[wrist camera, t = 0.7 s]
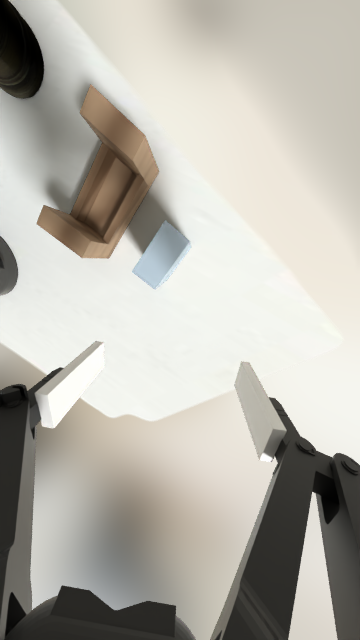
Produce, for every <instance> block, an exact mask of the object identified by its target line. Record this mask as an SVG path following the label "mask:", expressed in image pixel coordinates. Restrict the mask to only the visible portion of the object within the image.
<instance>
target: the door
mask: <svg viewBox="0 0 360 640" xmlns="http://www.w3.org/2000/svg"><path fill="white" fill-rule="evenodd" d="M190 248H191V244H190V241H189V240H188V239H187V238H186V237H185V236H183V235H182V234H181V233H180V232H179V231H178V230H176V229H175V228H174V227H173V226H172V225H171V224H170V223H168V222H167V221H166V220H165V221H164V223H163V224H162V226H161V227H160V229H159V230H158V232H157V234H156V235H155V237H154V238H153V240H152V241H151V243H150V244H149V246H148V247H147V249H146V251H145V252H144V254H143V255H142V257H141V258H140V260H139V261H138V263H137V264H136V266H135V268H134V269H133V271H132V272H133V273H134V274H135V275H137V276H138V277H139V278H141V279H142V280H143V281H144V282H146V283H147V284H148V285H150V286H151V287H152V288H153V289H156V288H158V287H159V286H160V285H161V284H163V283H164V282H165V281H167V280H168V278H169V277H170V275H171V274H172V273H173V271H174V270H175V269H176V267H177V266H178V265H179V263H180V262H181V261H182V259H183V258H184V257H185V255H186V254H187V252H188V251H189V250H190Z"/></svg>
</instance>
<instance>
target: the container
mask: <svg viewBox="0 0 360 640" xmlns="http://www.w3.org/2000/svg"><path fill="white" fill-rule="evenodd" d="M43 74H44V63H43V57H42V53H41V49H40V46H39V44H38V41H37V39H36V37H35V35H34V33H33V31H32V30H31V28H30V27H29V25H28V24H27V23H26V21H25V20H24V19H23V18H22V17H21V16H20V14H19V12H18V11H17V10H16V8H15V7H14V6H13V5H12V4H11V3H10V2H9V1H8V0H0V88H2V89H3V90H4V91H5V92H7V93H9V94H10V95H12V96H14V97H17V98H21V99H26V98H29V97H32V96H33V95H35V94H36V92H37V91H38V90H39V88H40V86H41V84H42V80H43Z"/></svg>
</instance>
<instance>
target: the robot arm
mask: <svg viewBox="0 0 360 640" xmlns="http://www.w3.org/2000/svg"><path fill="white" fill-rule="evenodd" d="M17 277H18V270H17V264H16V261H15V258H14V256H13V254H12V252H11V250H10V248H9V247H8V245H7V244H6V243H5V242H4V240H3V239H2V238H1V237H0V296H1V295H5V294H7V293H9V292H10V291H11V290H12V289H13V288H14V286H15V285H16V282H17ZM104 367H105V360H104V342H98V341H95V342H94V343H93V344H92V345H91V346H90V347H88V348H87V349H86V350H85V351H84V352H82V353H81V354H80V355H79V356H78V357H77V358H75V359H74V360H73V361H72V362H71V363H70V364H68V365H67V366H66V367H65V368H58V369H56V370H54V371H52V372H51V373H50V374H48V375H47V377H45V378H43V379H42V381H40V382H39V383H37V384H36V385H35V386H34V387H32V388H31V389H30V390H29V391H27V389H26V386H25V385H22V384H16V385H11V386H8V387H6V388H4V389H2V390H0V640H196V639H195V637H194V636H193V634H192V633H191V631H190V630H189V628H188V627H187V626H186V625H185V624H184V623H183V621H182V620H180V619H179V618H178V617H177V616H176V615H175V614H176V606H174V605H168V604H162V603H157V602H151V601H146V602H142V603H139V604H136V605H133V606H130V607H127V608H124V609H121V610H113V609H112V608H110V607H109V606H108V605H107V604H105V603H104V602H103V601H102V600H101V599H99V598H98V597H97V596H96V595H94V594H93V593H92V592H91V591H89V590H84V589H79V588H72V587H67V586H61V589H60V591H59V594H58V596H56V597H53V598H51V599H49V600H47V601H45V602H43V603H42V604H40V605H39V606H37V607H36V608H34V609H33V610H32V591H31V581H30V564H31V542H32V520H33V498H34V476H35V453H36V431H37V430H36V425H37V423H38V422H40V420H41V422H42V426H43V427H48V428H55V427H56V425H57V424H58V423H59V422H60V421H61V419H62V418H63V417H64V416H65V414H66V413H67V412H68V411H69V410H70V408H71V407H72V406H73V405H74V403H75V402H76V401H77V400H78V398H79V397H80V396H81V395H82V394H83V392H84V391H85V390H86V389H87V388H88V386H89V385H90V384H91V383H92V381H93V380H94V379H95V378H96V377H97V375H98V374H99V373H100V372H101V370H102V369H103V368H104ZM235 388H236V391H237V394H238V397H239V400H240V403H241V406H242V409H243V412H244V415H245V418H246V421H247V424H248V427H249V430H250V433H251V436H252V439H253V442H254V445H255V448H256V451H257V454H258V457H259V460H262V461H268V462H272V461H273V459H274V456H275V457H276V459H277V462H278V464H277V466H276V468H275V470H274V472H273V477H272V479H271V482H270V485H269V487H268V490H267V493H266V495H265V498H264V501H263V504H262V506H261V509H260V511H259V514H258V517H257V520H256V522H255V525H254V528H253V531H252V533H251V536H250V538H249V541H248V544H247V546H246V549H245V552H244V554H243V557H242V560H241V562H240V565H239V568H238V570H237V573H236V576H235V578H234V581H233V584H232V586H231V589H230V592H229V594H228V597H227V600H226V602H225V605H224V608H223V610H222V612H221V615H220V617H219V619H218V622H217V624H216V626H215V629H214V632H213V634H212V637H211V639H210V640H288V637H289V631H290V625H291V618H292V611H293V605H294V600H295V594H296V587H297V581H298V575H299V569H300V563H301V557H302V551H303V545H304V538H305V532H306V526H307V520H308V514H309V508H310V501H311V495H312V492H314V493H316V497H317V504H318V511H319V518H320V524H321V531H322V538H323V545H324V551H325V558H326V565H327V571H328V577H329V585H330V591H331V598H332V604H333V611H334V618H335V625H336V631H337V638H338V640H360V465H359V464H358V463H357V462H355V461H354V460H353V459H351V458H350V457H348V456H346V455H344V454H341V453H336V454H335V455H334V456H333V458H332V457H330V456H327V455H325V454H323V453H320V452H318V451H316V449H315V448H314V446H313V445H312V444H311V443H310V442H309V441H307V440H306V439H304V438H302V437H300V435H299V433H298V432H297V430H296V428H295V427H294V425H293V423H292V422H291V420H290V419H289V417H288V415H287V414H286V412H285V411H284V409H283V407H282V405H281V404H280V403H279V402H278V401H277V400H276V399H275V398H270V397H268V396H267V394H266V392H265V390H264V388H263V387H262V385H261V384H260V381H259V379H258V377H257V376H256V374H255V372H254V370H253V368H252V367H251V365H250V363H248V362H241V364H240V368H239V371H238V374H237V378H236V381H235Z"/></svg>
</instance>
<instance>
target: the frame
mask: <svg viewBox="0 0 360 640" xmlns="http://www.w3.org/2000/svg"><path fill="white" fill-rule="evenodd" d="M80 114H81V115H82V117H83V118H84V119H85V120H86V122H87V123H88V124H89V126H90V127H91V128H92V129H93V131H94V132H95V133H96V135H97V136H98V137H99V139H100V140H101V141H102V144H101V147H100V149H99V151H98V153H97V155H96V158H95V160H94V162H93V164H92V167H91V169H90V171H89V173H88V175H87V178H86V180H85V182H84V184H83V187H82V189H81V191H80V193H79V196H78V198H77V200H76V202H75V204H74V207H73V209H72V211H71V213H70V214H67V213H64V212H62V211H59V210H56V209H54V208H51V207H48V206H45V205H43V208H42V211H41V213H40V216H39V218H38V221H37V225H39V226H40V227H41V228H43V229H44V230H45V231H47V232H48V233H49V234H51V235H52V236H53V237H55V238H56V239H57V240H59V241H60V242H61V243H63V244H64V245H65V246H67V247H68V248H69V249H71V250H72V251H73V252H75V253H76V254H77V255H79V256H80V257H81V258H110V256H111V254H112V252H113V251H114V249H115V247H116V245H117V244H118V242H119V240H120V238H121V237H122V235H123V233H124V232H125V230H126V228H127V226H128V225H129V223H130V221H131V219H132V218H133V216H134V214H135V212H136V211H137V209H138V207H139V206H140V204H141V202H142V200H143V199H144V197H145V195H146V193H147V192H148V190H149V188H150V187H151V185H152V183H153V181H154V180H155V178H156V176H157V174H158V173H159V170H158V167H157V165H156V162H155V159H154V157H153V154H152V152H151V149H150V146H149V144H148V141H147V139H146V136H145V135H144V134H143V133H142V132H141V131H140V130H139V129H138V128H137V127H136V126H134V125H133V124H132V123H131V122H130V121H129V120H128V119H127V118H126V117H125V116H124V115H123V114H122V113H121V112H120V111H119V110H117V109H116V108H115V107H114V106H113V105H112V104H111V103H110V102H109V101H108V100H107V99H106V98H105V97H104V96H103V95H102V94H100V93H99V92H98V91H97V90H96V89H95V88H94V87H93V86H92V85H90V87H89V90H88V92H87V95H86V97H85V100H84V103H83V105H82V108H81V110H80Z"/></svg>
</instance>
